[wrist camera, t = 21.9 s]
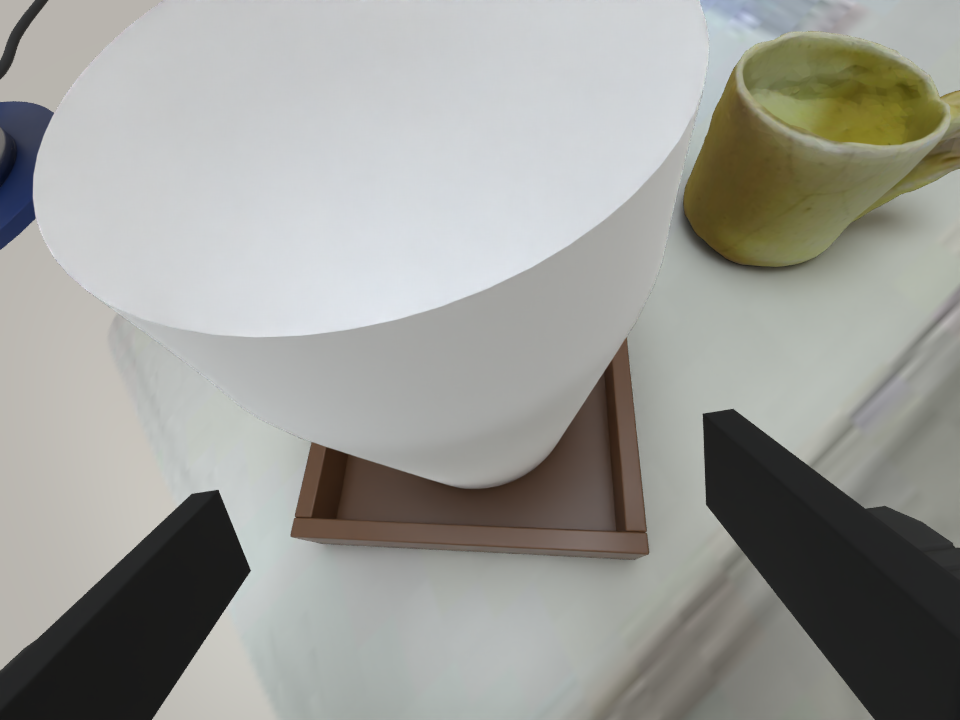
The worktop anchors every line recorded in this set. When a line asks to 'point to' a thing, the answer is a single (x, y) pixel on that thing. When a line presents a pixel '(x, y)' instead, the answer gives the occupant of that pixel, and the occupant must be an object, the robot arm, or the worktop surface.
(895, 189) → the mug
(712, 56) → the worktop surface
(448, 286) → the cup
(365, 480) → the tray
